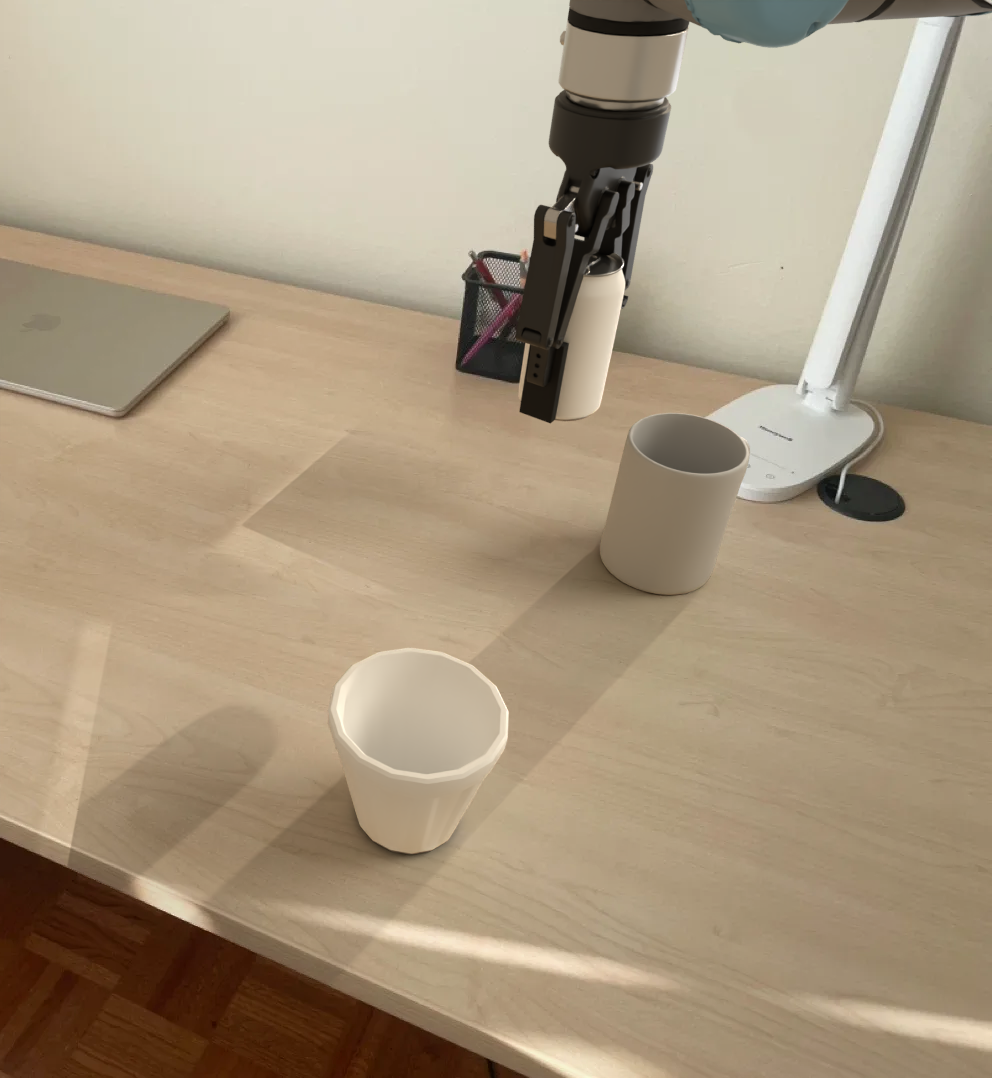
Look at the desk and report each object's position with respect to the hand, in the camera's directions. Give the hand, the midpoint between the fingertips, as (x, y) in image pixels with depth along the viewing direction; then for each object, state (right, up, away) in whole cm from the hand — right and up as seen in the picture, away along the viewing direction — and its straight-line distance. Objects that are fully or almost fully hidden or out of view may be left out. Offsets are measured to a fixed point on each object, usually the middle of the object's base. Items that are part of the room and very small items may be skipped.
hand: (559, 397), depth 84 cm
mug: (+9, -13, 0) cm, 15 cm away
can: (0, -1, 0) cm, 1 cm away
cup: (-15, -28, -20) cm, 37 cm away
